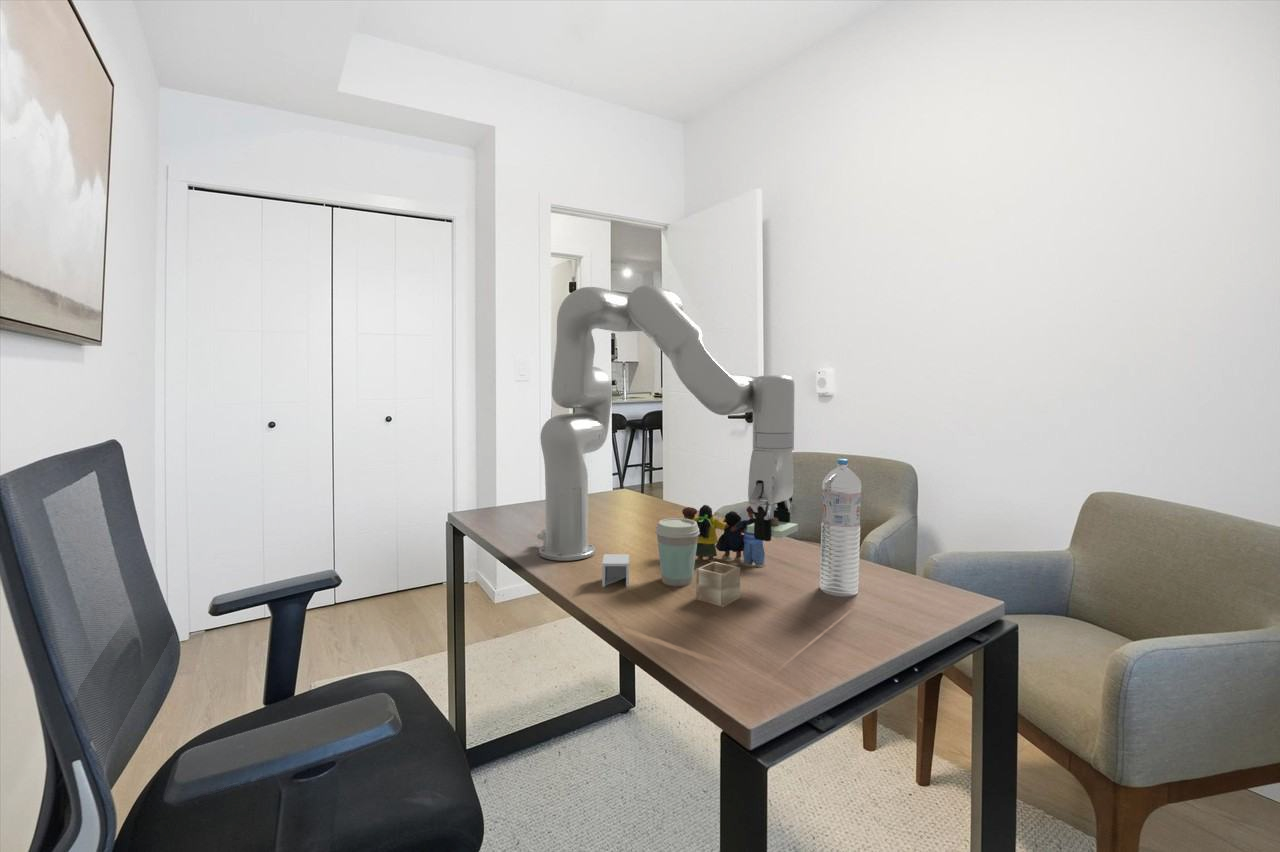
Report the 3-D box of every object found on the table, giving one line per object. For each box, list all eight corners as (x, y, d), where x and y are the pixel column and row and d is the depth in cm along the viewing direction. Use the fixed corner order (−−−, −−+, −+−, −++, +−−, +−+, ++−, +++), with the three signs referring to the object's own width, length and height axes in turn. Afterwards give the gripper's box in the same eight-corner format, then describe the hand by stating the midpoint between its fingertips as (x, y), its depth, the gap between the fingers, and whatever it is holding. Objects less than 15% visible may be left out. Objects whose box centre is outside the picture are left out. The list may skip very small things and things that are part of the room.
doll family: (775, 558, 133) (776, 498, 132) (778, 570, 124) (779, 507, 123) (672, 553, 136) (672, 495, 135) (667, 565, 127) (668, 503, 126)
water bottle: (830, 583, 116) (834, 456, 114) (864, 592, 111) (869, 459, 109) (812, 592, 111) (816, 459, 109) (847, 602, 106) (851, 463, 104)
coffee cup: (696, 592, 111) (697, 529, 110) (651, 589, 113) (651, 526, 112) (701, 577, 119) (702, 518, 118) (659, 574, 121) (659, 516, 120)
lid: (746, 532, 112) (747, 519, 112) (764, 525, 117) (764, 512, 117) (781, 537, 107) (781, 524, 107) (798, 530, 113) (798, 517, 113)
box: (696, 601, 106) (696, 568, 106) (713, 593, 111) (713, 561, 110) (723, 609, 103) (723, 575, 102) (739, 600, 107) (740, 567, 107)
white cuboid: (603, 578, 118) (603, 554, 118) (629, 578, 119) (629, 554, 118) (602, 589, 113) (602, 563, 112) (628, 589, 113) (628, 563, 112)
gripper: (776, 437, 120) (775, 524, 122) (731, 444, 107) (731, 542, 108) (811, 439, 116) (810, 529, 117) (769, 447, 102) (768, 549, 103)
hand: (772, 535), depth 112 cm, fingers closed on lid, 7 cm apart
